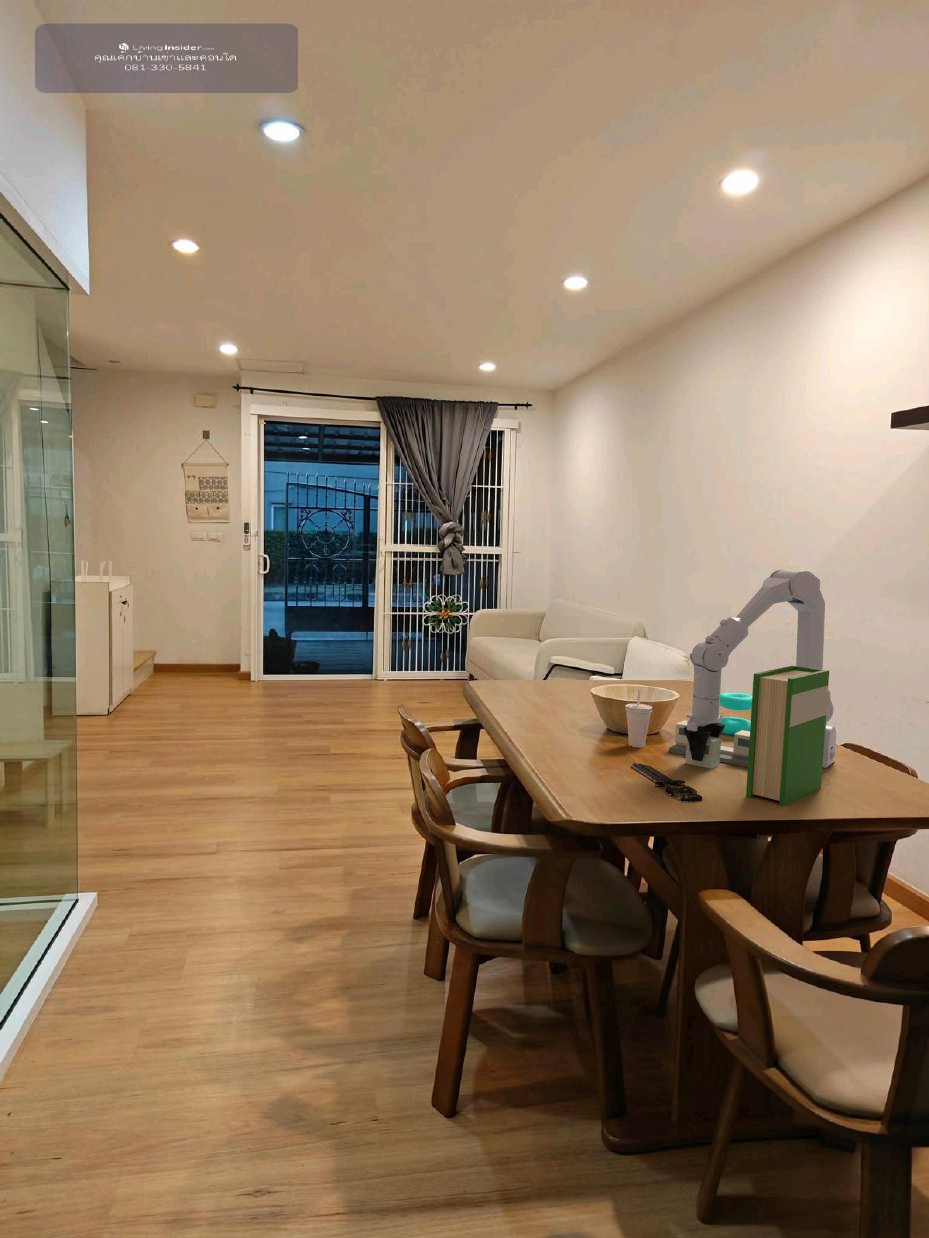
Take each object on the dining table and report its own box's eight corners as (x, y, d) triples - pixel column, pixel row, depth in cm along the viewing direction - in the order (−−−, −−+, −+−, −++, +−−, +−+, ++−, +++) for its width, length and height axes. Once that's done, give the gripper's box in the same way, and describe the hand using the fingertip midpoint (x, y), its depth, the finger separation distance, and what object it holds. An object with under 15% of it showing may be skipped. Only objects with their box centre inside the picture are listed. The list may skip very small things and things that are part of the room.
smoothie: (620, 746, 182) (622, 688, 180) (627, 740, 187) (630, 684, 186) (646, 750, 179) (649, 691, 178) (653, 744, 184) (656, 687, 183)
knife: (626, 766, 167) (627, 759, 167) (654, 765, 168) (655, 759, 168) (673, 804, 142) (673, 796, 142) (706, 803, 143) (706, 796, 143)
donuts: (765, 696, 198) (741, 700, 192) (763, 734, 199) (738, 738, 193) (733, 690, 206) (709, 693, 201) (731, 726, 207) (706, 730, 202)
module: (719, 764, 168) (721, 738, 168) (711, 769, 165) (713, 741, 164) (693, 759, 172) (695, 733, 172) (685, 763, 169) (686, 737, 168)
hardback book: (784, 806, 141) (792, 679, 139) (745, 796, 146) (753, 673, 144) (820, 787, 153) (829, 670, 151) (784, 779, 159) (792, 665, 156)
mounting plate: (771, 759, 174) (773, 732, 174) (754, 768, 166) (756, 740, 165) (688, 743, 187) (689, 718, 186) (668, 751, 178) (670, 725, 178)
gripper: (701, 690, 175) (698, 748, 177) (675, 698, 164) (671, 760, 165) (732, 694, 171) (728, 753, 172) (706, 703, 160) (703, 766, 161)
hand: (702, 757), depth 168 cm, fingers open, 6 cm apart
